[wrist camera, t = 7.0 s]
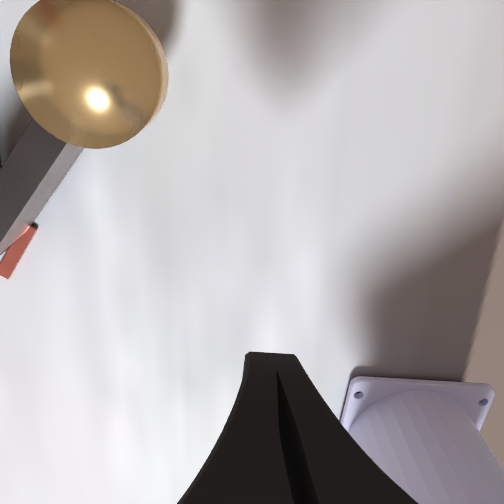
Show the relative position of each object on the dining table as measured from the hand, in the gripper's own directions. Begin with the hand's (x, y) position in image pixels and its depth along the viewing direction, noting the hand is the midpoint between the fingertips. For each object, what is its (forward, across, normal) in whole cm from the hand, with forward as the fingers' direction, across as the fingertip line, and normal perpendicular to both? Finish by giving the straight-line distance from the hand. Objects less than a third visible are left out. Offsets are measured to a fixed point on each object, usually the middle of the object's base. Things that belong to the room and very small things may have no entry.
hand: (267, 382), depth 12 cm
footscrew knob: (+9, +8, -5) cm, 13 cm away
